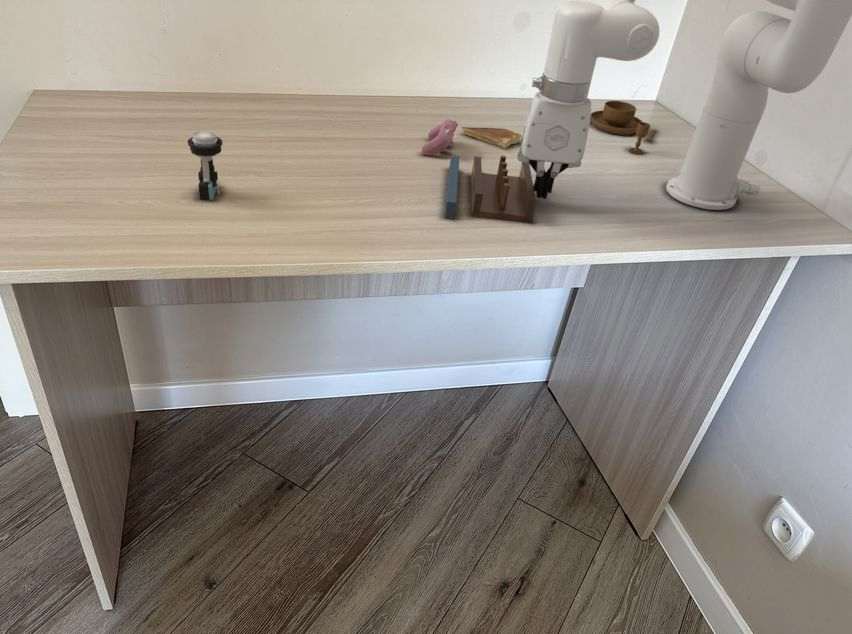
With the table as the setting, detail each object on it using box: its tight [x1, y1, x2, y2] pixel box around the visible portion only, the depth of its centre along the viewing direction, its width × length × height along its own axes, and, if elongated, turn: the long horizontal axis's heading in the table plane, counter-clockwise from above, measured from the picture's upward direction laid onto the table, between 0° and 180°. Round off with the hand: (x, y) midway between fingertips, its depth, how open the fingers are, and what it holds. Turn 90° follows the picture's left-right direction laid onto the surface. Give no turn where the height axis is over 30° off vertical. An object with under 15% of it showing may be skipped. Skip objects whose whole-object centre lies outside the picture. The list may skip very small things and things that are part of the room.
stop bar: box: [444, 154, 460, 220], centre depth 121 cm, size 2×20×3 cm, turn 174°
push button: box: [187, 130, 223, 201], centre depth 112 cm, size 7×5×10 cm
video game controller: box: [421, 118, 459, 156], centre depth 136 cm, size 10×5×7 cm, turn 168°
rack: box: [470, 155, 537, 224], centre depth 120 cm, size 10×16×6 cm, turn 175°
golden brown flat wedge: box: [461, 126, 522, 150], centre depth 145 cm, size 11×8×2 cm
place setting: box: [590, 100, 656, 155], centre depth 152 cm, size 18×20×6 cm
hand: (541, 195), depth 120 cm, fingers closed
